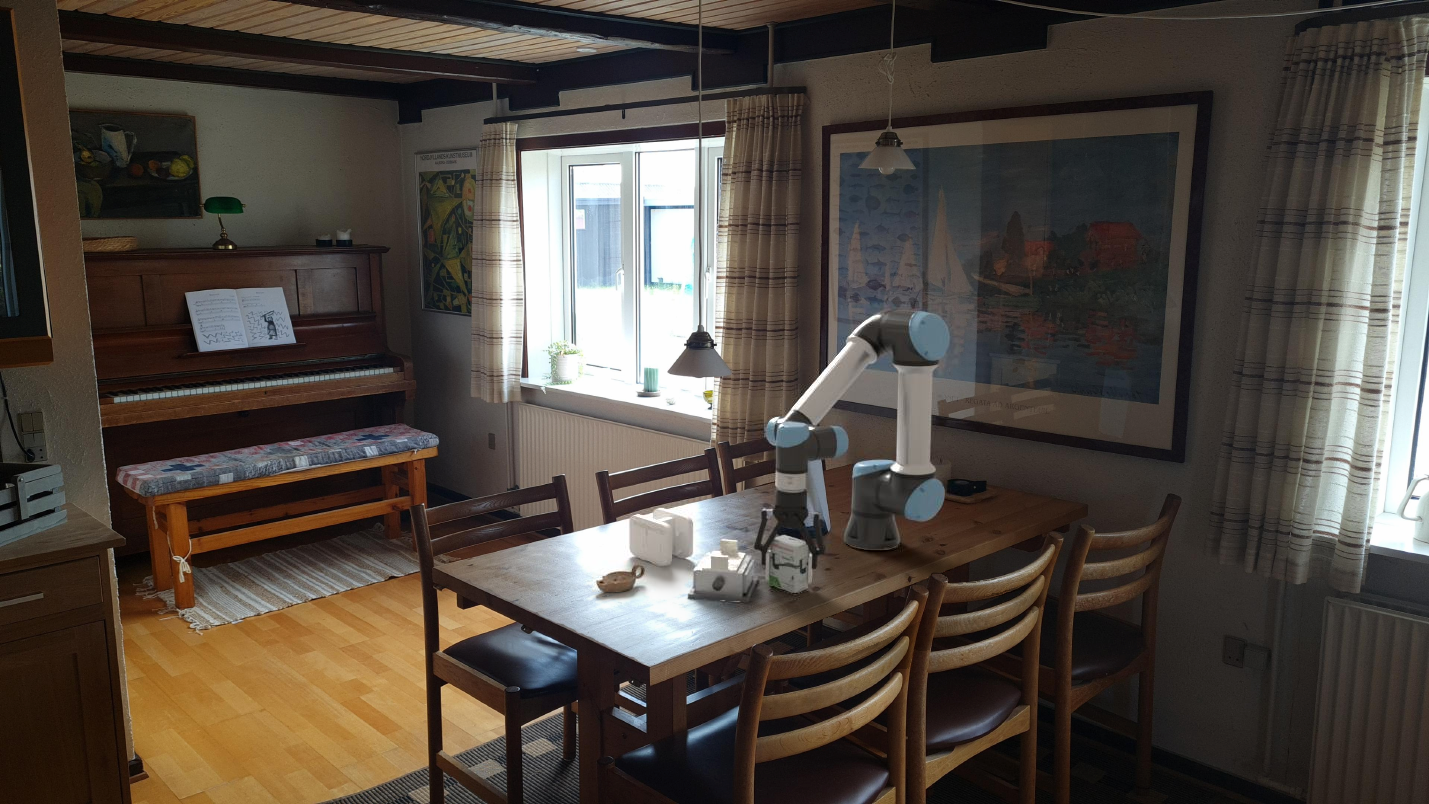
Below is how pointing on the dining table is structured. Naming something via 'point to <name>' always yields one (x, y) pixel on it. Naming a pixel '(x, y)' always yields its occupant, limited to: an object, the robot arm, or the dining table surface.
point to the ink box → (789, 563)
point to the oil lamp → (620, 580)
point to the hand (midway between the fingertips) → (788, 579)
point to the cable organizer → (661, 536)
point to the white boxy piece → (724, 575)
